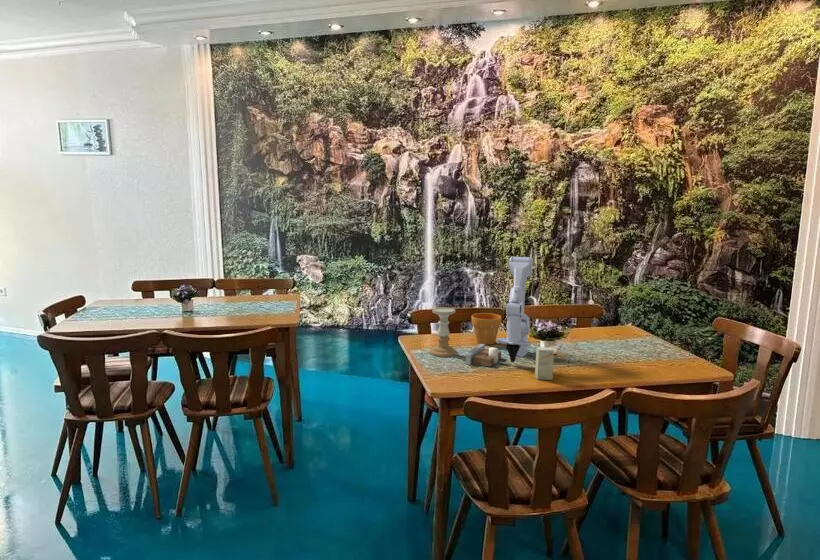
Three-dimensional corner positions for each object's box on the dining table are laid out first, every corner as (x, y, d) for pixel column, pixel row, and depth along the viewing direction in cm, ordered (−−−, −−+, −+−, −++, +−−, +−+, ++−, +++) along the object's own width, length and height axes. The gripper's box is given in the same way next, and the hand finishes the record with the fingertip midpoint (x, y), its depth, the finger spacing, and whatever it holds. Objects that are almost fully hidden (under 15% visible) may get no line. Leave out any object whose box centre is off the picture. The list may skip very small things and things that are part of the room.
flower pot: (474, 337, 295) (474, 311, 293) (502, 339, 291) (503, 314, 289) (468, 344, 282) (468, 318, 280) (497, 347, 278) (498, 320, 275)
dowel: (489, 360, 258) (490, 347, 257) (498, 361, 257) (499, 348, 256) (487, 362, 255) (487, 349, 254) (496, 364, 253) (496, 350, 252)
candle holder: (435, 358, 261) (435, 313, 257) (425, 350, 272) (426, 307, 269) (461, 355, 265) (462, 311, 261) (450, 348, 276) (451, 306, 273)
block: (484, 355, 265) (484, 348, 264) (501, 357, 261) (501, 351, 261) (472, 363, 253) (472, 357, 252) (490, 366, 249) (490, 359, 249)
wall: (480, 353, 268) (480, 343, 268) (484, 353, 267) (484, 344, 267) (465, 364, 252) (465, 354, 252) (469, 365, 252) (470, 354, 251)
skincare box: (537, 379, 234) (538, 350, 232) (534, 376, 238) (535, 346, 236) (553, 379, 234) (554, 350, 232) (550, 376, 238) (551, 346, 236)
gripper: (494, 330, 249) (493, 361, 251) (528, 334, 243) (526, 366, 245) (499, 326, 255) (498, 356, 258) (532, 330, 249) (531, 361, 251)
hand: (512, 361), depth 252 cm, fingers closed
